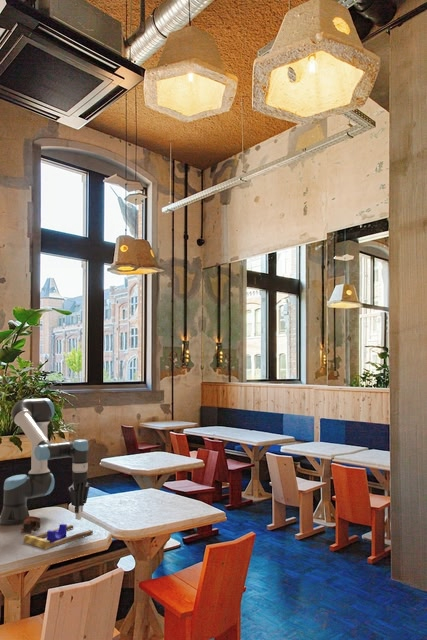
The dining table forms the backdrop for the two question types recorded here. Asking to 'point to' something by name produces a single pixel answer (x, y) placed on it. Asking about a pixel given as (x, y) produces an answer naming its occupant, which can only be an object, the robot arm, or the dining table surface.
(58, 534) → the cable clip
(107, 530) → the dining table surface
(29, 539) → the guide lane
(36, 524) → the pottery mug
